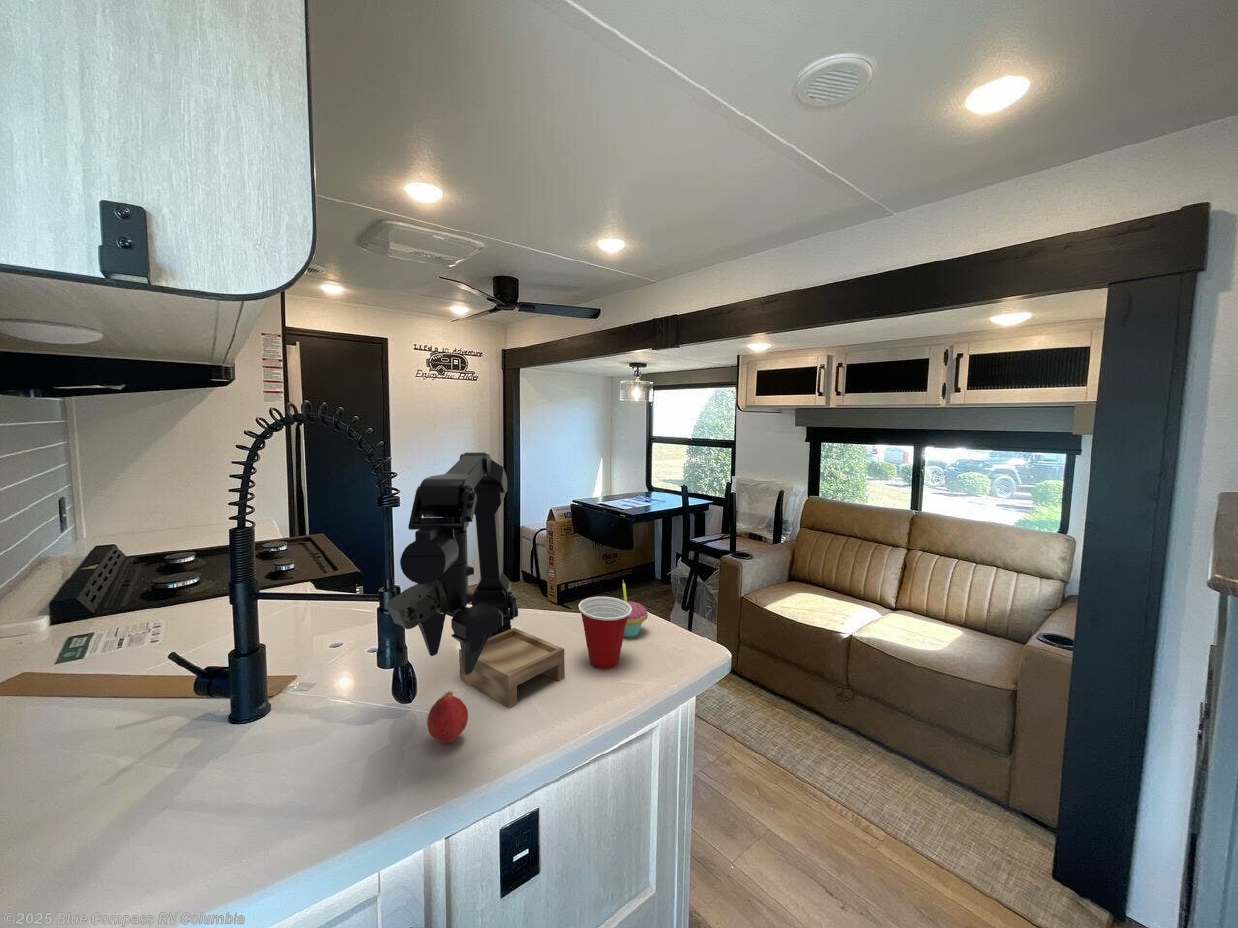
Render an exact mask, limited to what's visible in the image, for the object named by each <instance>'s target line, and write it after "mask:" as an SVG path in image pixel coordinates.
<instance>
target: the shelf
mask: <svg viewBox="0 0 1238 928" xmlns="http://www.w3.org/2000/svg"><path fill="white" fill-rule="evenodd" d="M458 655H459V656H458V657H459V659H458V661H459V679H460V680H461V681H463V682H465V683H466V684H468V685H469V686H472V687H473V688H475V689H477V690H478V691H480V692H482V693H483V694H484V695H486V696H488V697H490V698H492V699H494V700H495V701H497V702H499V703H500V704H502V705H503V706H505V707H507V708H508V709H511V708H513V707H515V706H516V705H517V704H518V691H517V690H518V688H517V687H518V686H519V685H521V684H523V683H525V682H526V681H528V680H531V679H532V678H534V677H537V676H538V675H540V674H543V675H545V676H547V677H549V678H551V679H553V680H555V681H558V682H559V681H561V680H563V679H565V677H566V675H565V674H566V673H565V671H566V670H565V669H566V668H565V667H566V666H565V660H566V659H565V648H564V647H561V646H558V645H556V644H554V643H551V642H549V641H547V640H545V639H542V638H540V637H536V636H534V635H533V634H531V633H528V632H525V631H523V630H520V629H518V628H516V627H513V628H512V627H511V629H510V630H507V631H505V632H502V633H500V634H497V635H495V636H493V637H490V638H488V640H487V642H486V644H485V646H484V648H483V650H482V652H481V654H480V656H479V659H478V661H477V663H476V665H475V667H474V669H473V672H472V673H470V674H468V675H466V674H465V673H464V669H463V663H462V655H461V648H460V649H458Z"/></svg>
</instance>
